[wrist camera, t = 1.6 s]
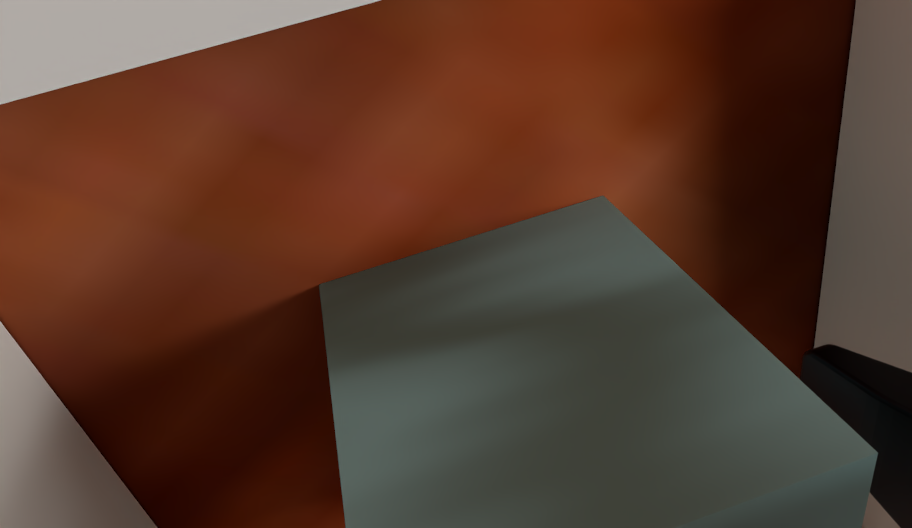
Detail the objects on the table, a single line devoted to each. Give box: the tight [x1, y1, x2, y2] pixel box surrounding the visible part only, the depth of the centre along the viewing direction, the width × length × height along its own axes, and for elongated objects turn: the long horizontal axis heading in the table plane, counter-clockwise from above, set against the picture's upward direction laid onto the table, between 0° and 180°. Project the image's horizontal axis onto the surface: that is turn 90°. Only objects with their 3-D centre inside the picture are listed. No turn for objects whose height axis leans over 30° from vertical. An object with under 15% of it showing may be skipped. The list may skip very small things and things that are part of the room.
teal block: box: [319, 196, 878, 528], centre depth 10 cm, size 5×5×6 cm
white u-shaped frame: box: [0, 0, 912, 528], centre depth 11 cm, size 16×13×3 cm
